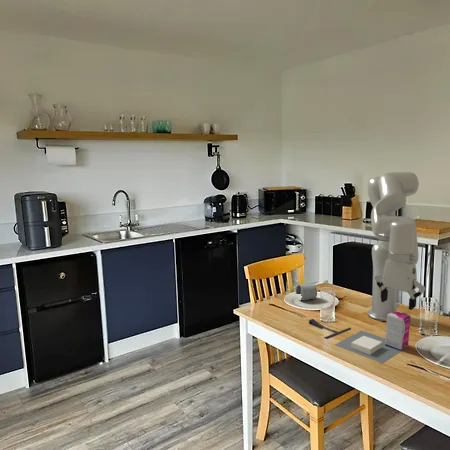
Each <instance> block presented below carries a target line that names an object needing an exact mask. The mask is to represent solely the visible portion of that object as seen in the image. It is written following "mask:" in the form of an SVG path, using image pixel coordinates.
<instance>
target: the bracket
mask: <svg viewBox="0 0 450 450" xmlns="http://www.w3.org/2000/svg"><path fill="white" fill-rule="evenodd" d="M308 324H309V325H310V326H312V327H313V326H314V327H315V328H318V329H320V330H327V331H329V332H332V333H331V334H329V335H326V336H324V337H323V338H324V339H326V340H327V339H330V338H334V337H335V336H338V335H341V334H344V333H345V332H348V331H350V330H352V327H348V328H345V329H342V330H340V331H339V330H334V329H330V328H329V327H327V326H324V325H322V324H320V323H319V322H317V321H316V320H315V319H314V318H312V319H309V320H308Z"/></svg>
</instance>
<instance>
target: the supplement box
mask: <svg viewBox="0 0 450 450" xmlns="http://www.w3.org/2000/svg"><path fill="white" fill-rule="evenodd" d="M385 326H386V329H385V330H386V331H385V338H386V339H385V346H388V347H391V348H394V349H396V350H399V351H400V350H402V349H403V348H405V347H406V348H408V347H409V339H410V330H411V329H410V328H411V327H410V326H411V315H410V314H406V313H404V312H400V311H397V310H396V311H394V312H392V313H390V314H388V315H387V321H386V325H385ZM407 346H408V347H407ZM406 348H405V349H406ZM403 350H404V349H403ZM403 350H402V351H403ZM400 352H401V351H400Z"/></svg>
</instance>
